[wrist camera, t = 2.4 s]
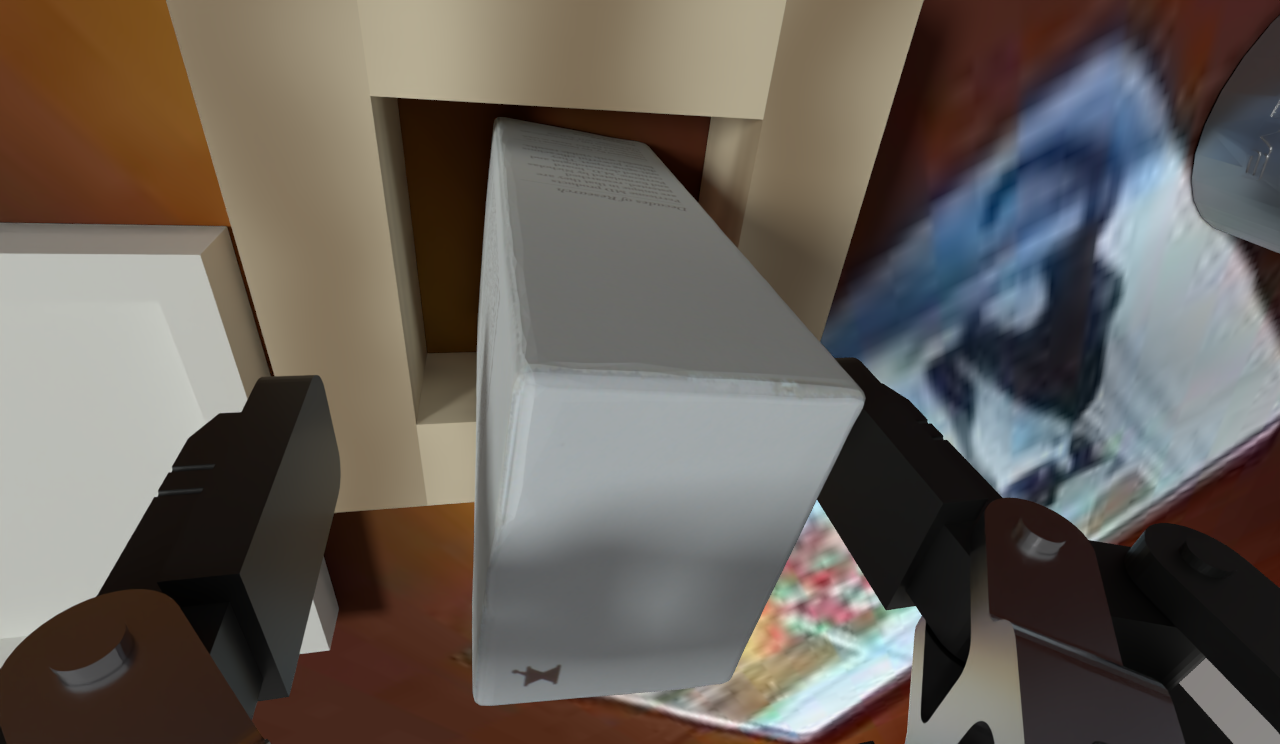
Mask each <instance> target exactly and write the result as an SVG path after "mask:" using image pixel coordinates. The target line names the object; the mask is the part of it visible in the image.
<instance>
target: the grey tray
mask: <svg viewBox="0 0 1280 744" xmlns="http://www.w3.org/2000/svg"><path fill="white" fill-rule="evenodd" d="M270 376H271V375H270V371H269V368H268V365H267V361H266V358H265V354H264V351H263V348H262V344H261V341H260V337H259V334H258V330H257V327H256V324H255V320H254V317H253V313H252V310H251V307H250V303H249V300H248V296H247V293H246V289H245V286H244V283H243V279H242V276H241V272H240V269H239V266H238V262H237V259H236V255H235V252H234V249H233V245H232V242H231V238H230V235H229V231H228V228H227V226H174V225H111V224H48V223H0V668H1V667H2V666H3V664H4V662H5V661H6V659H7V658H8V657H9V656H10V654H11V653H12V652H13V651H14V649H15V648H16V647H17V646H18V645H19V644H20V643H21V642H22V641H23V640H24V639H25V638H26V637H27V636H28V635H30V634H31V633H32V632H33V631H35V630H36V629H37V628H38V627H40V626H41V625H42V624H44V623H45V622H47V621H48V620H50V619H51V618H53V617H54V616H56V615H57V614H59V613H61V612H63V611H65V610H67V609H68V608H70V607H72V606H74V605H77V604H79V603H81V602H83V601H86V600H88V599H91V598H94V597H96V596H97V595H98V593H99V591H100V590H101V588H102V586H103V585H104V583H105V581H106V579H107V578H108V576H109V574H110V572H111V571H112V569H113V567H114V566H115V564H116V562H117V560H118V559H119V557H120V555H121V553H122V552H123V550H124V548H125V547H126V545H127V543H128V541H129V540H130V538H131V536H132V534H133V533H134V531H135V529H136V528H137V526H138V524H139V522H140V521H141V519H142V517H143V515H144V514H145V512H146V510H147V509H148V507H149V505H150V503H151V502H152V500H153V498H154V497H158V490H159V488H160V486H161V484H162V483H163V481H164V479H165V477H166V476H167V474H168V472H172V465H173V464H174V462H175V460H176V458H177V457H178V455H179V453H180V452H181V450H182V448H183V446H184V445H185V443H186V441H187V439H188V438H189V437H190V436H192V435H193V434H194V433H195V432H197V431H198V430H199V429H200V428H201V427H203V426H204V425H205V424H206V423H208V422H209V421H210V420H211V419H213V418H214V417H215V416H216V415H218V414H219V413H234V412H242V410H243V408H244V406H245V404H246V402H247V400H248V398H249V396H250V394H251V392H252V390H253V388H254V386H255V384H256V382H257V380H258V379H259V378H260V377H270ZM338 611H339V607H338V603H337V600H336V597H335V593H334V590H333V586H332V583H331V580H330V576H329V573H328V569H327V566H326V562H325V559H324V556H323V560H322V564H321V568H320V572H319V576H318V580H317V584H316V589H315V593H314V597H313V601H312V605H311V609H310V613H309V617H308V621H307V625H306V629H305V633H304V637H303V641H302V645H301V650H300V654H303V653H311V652H319V651H328V650H330V646H331V642H332V637H333V633H334V629H335V624H336V620H337V615H338Z"/></svg>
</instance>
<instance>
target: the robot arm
mask: <svg viewBox="0 0 1280 744" xmlns="http://www.w3.org/2000/svg"><path fill="white" fill-rule="evenodd" d="M1192 186H1193V196H1194V202H1195V204H1196V206H1197V208H1198V210H1199V212H1200V214H1201V217H1202V218H1203V219H1205V220H1206V221H1207V222H1208V223H1209V224H1210V225H1211V226H1213V227H1214V228H1216V229H1218V230H1221V231H1223V232H1226V233H1229V234H1231V235H1234V236H1236V237H1239V238H1241V239H1244V240H1247V241H1249V242H1252V243H1254V244H1257V245H1259V246H1262V247H1265V248H1267V249H1270V250H1272V251H1275V252H1277V253H1280V15H1279V16H1278V17H1277V18H1276V19H1275V20H1274V21H1273V22H1272V23H1271V25H1270V26H1269V27H1268V28H1267V30H1266V31H1265V32H1264V33H1263V34H1262V36H1261V37H1260V38H1259V39H1258V41H1257V42H1256V43H1255V44H1254V45H1253V47H1252V48H1251V49H1250V50H1249V52H1248V53H1247V54H1246V55H1245V56H1244V58H1243V59H1242V61H1241V62H1240V64H1239V65H1238V67H1237V68H1236V70H1235V72H1234V73H1233V75H1232V76H1231V78H1230V79H1229V81H1228V82H1227V84H1226V85H1225V87H1224V88H1223V90H1222V91H1221V93H1220V95H1219V97H1218V99H1217V101H1216V103H1215V105H1214V107H1213V109H1212V112H1211V114H1210V116H1209V118H1208V120H1207V122H1206V124H1205V126H1204V129H1203V132H1202V135H1201V138H1200V141H1199V144H1198V147H1197V150H1196V153H1195V160H1194V167H1193V175H1192ZM834 359H835V360H836V361H837V362H838V363H839V365H840V366H841V367H842V368H843V369H844V370H845V371H846V372H847V373H848V374H849V376H850V377H851V378H852V379H853V380H854V381H855V382H856V384H857V385H858V386H859V387H860V388H861V389H862V391H863V392H864V395H865V398H866V399H865V402H864V406H863V409H862V410H861V412H860V414H859V416H858V418H857V419H856V421H855V423H854V425H853V427H852V429H851V431H850V433H849V435H848V437H847V439H846V441H845V443H844V445H843V447H842V449H841V451H840V453H839V455H838V457H837V459H836V462H835V464H834V466H833V468H832V470H831V472H830V474H829V476H828V478H827V480H826V482H825V484H824V486H823V488H822V490H821V492H820V494H819V496H818V498H817V500H818V502H819V503H820V505H821V507H822V508H823V510H824V511H825V513H826V515H827V516H828V518H829V519H830V521H831V523H832V524H833V526H834V527H835V529H836V531H837V532H838V534H839V536H840V537H841V539H842V540H843V542H844V544H845V545H846V547H847V548H848V550H849V552H850V553H851V555H852V557H853V558H854V560H855V561H856V563H857V565H858V566H859V568H860V569H861V571H862V573H863V574H864V576H865V577H866V579H867V581H868V582H869V584H870V586H871V587H872V589H873V590H874V592H875V594H876V595H877V597H878V598H879V600H880V602H881V603H882V605H883V606H884V608H885V610H891V609H898V608H905V607H911V606H916V607H917V609H918V610H919V612H920V613H921V615H922V617H921V618H920V620H919V622H918V624H917V626H916V629H915V636H914V649H913V663H912V676H911V689H910V703H909V716H908V729H907V737H906V742H905V744H1233V743H1232V742H1231V741H1230V739H1228V737H1227V736H1226V735H1225V734H1224V733H1223V732H1222V731H1221V729H1220V728H1219V727H1218V726H1217V725H1216V724H1215V723H1214V722H1213V721H1212V719H1211V718H1210V717H1209V716H1208V715H1207V714H1206V713H1205V712H1204V711H1203V709H1202V708H1201V707H1200V706H1199V705H1198V704H1197V703H1196V702H1195V701H1194V699H1193V698H1192V697H1191V696H1190V695H1189V694H1188V693H1187V692H1186V691H1185V690H1184V688H1183V687H1182V686H1181V685H1180V684H1179V682H1180V681H1181V680H1182V679H1183V678H1185V677H1186V676H1187V675H1188V674H1189V673H1190V672H1191V671H1192V670H1193V669H1194V668H1196V666H1198V665H1199V664H1200V663H1201V662H1202V661H1203V660H1204V659H1205V658H1207V659H1208V660H1209V661H1210V662H1211V663H1212V664H1213V665H1214V666H1215V667H1216V668H1217V669H1218V670H1219V671H1220V672H1221V673H1222V674H1223V675H1224V676H1225V677H1226V679H1227V680H1228V681H1230V683H1231V684H1232V685H1233V686H1234V687H1235V688H1236V689H1237V690H1238V691H1239V692H1240V693H1241V694H1242V695H1243V696H1244V697H1245V698H1246V699H1247V700H1248V701H1249V702H1250V703H1251V704H1252V705H1253V706H1254V707H1255V708H1256V709H1257V710H1258V711H1259V712H1260V713H1261V715H1263V717H1264V718H1265V719H1266V720H1267V721H1268V722H1269V723H1270V724H1271V725H1272V726H1273V727H1274V728H1275V729H1276V730H1277V731H1278V732H1279V734H1280V588H1279V587H1278V586H1276V585H1275V584H1274V583H1273V582H1272V581H1270V580H1269V579H1268V578H1267V577H1266V576H1264V575H1263V574H1262V573H1261V572H1260V571H1259V570H1257V569H1256V568H1255V567H1254V566H1253V565H1251V564H1250V563H1249V562H1248V561H1247V560H1245V559H1244V558H1243V557H1242V556H1240V555H1239V554H1238V553H1236V552H1235V551H1234V550H1232V549H1231V548H1229V547H1228V546H1226V545H1224V544H1223V543H1221V542H1219V541H1217V540H1216V539H1214V538H1212V537H1210V536H1208V535H1206V534H1203V533H1201V532H1199V531H1196V530H1193V529H1190V528H1188V527H1184V526H1180V525H1176V524H1169V523H1159V524H1154V525H1151V526H1149V527H1148V528H1147V529H1146V530H1145V532H1144V533H1143V534H1142V535H1141V536H1140V538H1139V539H1138V540H1137V541H1136V542H1135V544H1134V545H1133V546H1132V547H1126V546H1120V545H1114V544H1108V543H1102V542H1096V541H1090V540H1088V539H1087V538H1086V537H1085V535H1084V534H1083V533H1082V532H1081V531H1080V530H1079V529H1078V528H1077V527H1076V526H1074V525H1073V524H1072V523H1071V522H1070V521H1068V520H1067V519H1065V518H1064V517H1062V516H1061V515H1059V514H1058V513H1056V512H1054V511H1052V510H1050V509H1048V508H1046V507H1044V506H1042V505H1039V504H1037V503H1034V502H1031V501H1027V500H1023V499H1018V498H1002V497H1001V496H1000V495H999V494H998V493H997V492H996V491H995V489H994V488H993V487H992V486H991V485H990V484H989V483H988V482H987V481H986V480H985V479H984V478H983V477H982V476H981V475H980V474H979V473H978V472H977V471H976V470H975V469H974V468H973V467H972V465H971V464H970V463H969V462H968V461H967V460H966V459H965V458H964V457H963V456H962V455H961V454H960V453H959V452H958V451H957V450H956V449H955V448H954V447H953V446H952V445H951V444H950V443H949V441H948V440H943V435H942V434H941V433H940V432H939V431H938V430H937V429H936V428H935V427H934V426H933V425H932V424H928V423H927V419H926V417H925V416H924V415H923V414H922V413H921V412H920V411H919V410H918V409H917V408H916V407H915V406H914V405H913V404H912V403H911V402H910V401H909V400H908V399H906V398H905V397H903V396H902V395H900V394H898V393H897V392H895V391H894V390H892V389H890V388H889V387H887V386H886V385H884V384H883V383H882V384H881V383H880V382H879V381H878V380H877V378H876V377H875V376H874V375H873V374H872V373H871V372H870V371H869V370H868V369H867V368H866V367H865V366H864V364H863V363H862V362H861V361H859V360H858V359H856V358H853V357H852V358H834ZM340 479H341V467H340V456H339V450H338V446H337V441H336V437H335V432H334V428H333V423H332V419H331V414H330V410H329V405H328V401H327V396H326V392H325V388H324V384H323V381H322V379H321V378H320V376H318V375H299V376H270V377H260V378H259V379H258V380H257V382H256V384H255V386H254V388H253V390H252V392H251V394H250V396H249V398H248V400H247V402H246V404H245V406H244V408H243V410H242V412H234V413H219V414H218V415H216V416H215V417H214V418H213V419H211V420H210V421H209V422H208V423H206V424H205V425H204V426H203V427H201V428H200V429H199V430H198V431H197V432H195V433H194V434H193V435H192V436H190V437H189V438H188V439H187V441H186V443H185V445H184V446H183V448H182V450H181V452H180V453H179V455H178V457H177V458H176V460H175V462H174V464H173V465H172V472H168V474H167V476H166V477H165V479H164V481H163V483H162V484H161V486H160V488H159V490H158V497H154V498H153V500H152V502H151V503H150V505H149V507H148V509H147V510H146V512H145V514H144V515H143V517H142V519H141V521H140V522H139V524H138V526H137V528H136V529H135V531H134V533H133V534H132V536H131V538H130V540H129V541H128V543H127V545H126V547H125V548H124V550H123V552H122V553H121V555H120V557H119V559H118V560H117V562H116V564H115V566H114V567H113V569H112V571H111V572H110V574H109V576H108V578H107V579H106V581H105V583H104V585H103V586H102V588H101V590H100V591H99V593H98V595H97V596H96V597H94V598H91V599H88V600H86V601H83V602H81V603H79V604H77V605H74V606H72V607H70V608H68V609H67V610H65V611H63V612H61V613H59V614H57V615H56V616H54V617H53V618H51V619H50V620H48V621H47V622H45V623H44V624H42V625H41V626H40V627H38V628H37V629H36V630H35V631H33V632H32V633H31V634H30V635H28V636H27V637H26V638H25V639H24V640H23V641H22V642H21V643H20V644H19V645H18V646H17V647H16V648H15V649H14V651H13V652H12V653H11V654H10V656H9V657H8V658H7V659H6V661H5V662H4V664H3V666H2V667H1V668H0V744H271V743H270V742H269V741H268V740H267V739H264V738H263V737H262V736H261V734H260V733H259V731H258V730H257V728H256V727H255V725H254V723H253V722H252V717H253V714H254V710H255V707H256V703H257V701H263V700H270V699H277V698H283V697H289V694H290V690H291V686H292V682H293V678H294V674H295V670H296V666H297V662H298V658H299V654H300V650H301V645H302V641H303V637H304V633H305V629H306V625H307V621H308V617H309V613H310V609H311V605H312V601H313V597H314V593H315V589H316V584H317V580H318V576H319V572H320V568H321V564H322V560H323V556H324V552H325V548H326V544H327V540H328V536H329V532H330V527H331V523H332V519H333V515H334V511H335V507H336V503H337V499H338V495H339V489H340ZM860 744H874V742H873V741H869V742H864V743H860Z"/></svg>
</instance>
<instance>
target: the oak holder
mask: <svg viewBox="0 0 1280 744" xmlns="http://www.w3.org/2000/svg"><path fill="white" fill-rule="evenodd" d="M166 2H167V6H168V9H169V12H170V16H171V19H172V23H173V26H174V30H175V33H176V37H177V40H178V44H179V47H180V51H181V54H182V57H183V61H184V64H185V68H186V71H187V75H188V78H189V82H190V85H191V89H192V92H193V96H194V99H195V102H196V106H197V109H198V113H199V116H200V120H201V123H202V127H203V130H204V134H205V137H206V141H207V144H208V147H209V151H210V154H211V158H212V161H213V165H214V168H215V172H216V175H217V179H218V182H219V186H220V189H221V192H222V196H223V199H224V203H225V206H226V210H227V213H228V217H229V220H230V224H231V227H232V230H233V234H234V237H235V241H236V244H237V248H238V251H239V255H240V258H241V262H242V265H243V269H244V272H245V275H246V279H247V282H248V286H249V289H250V293H251V296H252V300H253V303H254V307H255V310H256V314H257V317H258V320H259V324H260V327H261V331H262V334H263V338H264V341H265V345H266V348H267V352H268V355H269V359H270V362H271V365H272V369H273V372H274V376H299V375H318V376H320V378H321V379H322V381H323V384H324V388H325V392H326V396H327V401H328V405H329V410H330V414H331V419H332V423H333V428H334V432H335V437H336V441H337V446H338V450H339V456H340V467H341V479H340V489H339V495H338V499H337V503H336V507H335V511H334V513H338V512H351V511H364V510H376V509H389V508H402V507H415V506H428V505H440V504H453V503H466V502H475V466H476V402H477V396H476V383H477V352H459V353H427V347H426V339H425V330H424V322H423V313H422V305H421V296H420V288H419V279H418V271H417V262H416V254H415V245H414V237H413V228H412V219H411V211H410V202H409V194H408V185H407V177H406V168H405V160H404V151H403V143H402V134H401V126H400V117H399V109H398V100H397V98H412V99H429V100H445V101H462V102H479V103H495V104H512V105H529V106H545V107H562V108H578V109H595V110H612V111H628V112H645V113H662V114H678V115H695V116H711V121H710V128H709V135H708V141H707V148H706V155H705V161H704V168H703V174H702V181H701V188H700V194H699V201H698V203H699V204H700V206H701V207H702V208H703V209H704V210H705V211H706V213H707V214H708V215H709V216H710V217H711V218H712V219H713V220H714V221H715V223H716V224H717V225H718V226H719V228H720V229H721V230H722V231H723V232H724V234H725V235H726V236H727V237H728V238H729V239H730V240H731V241H732V242H733V243H734V245H735V246H736V247H737V248H738V249H739V250H740V252H741V253H742V254H743V255H744V256H745V257H746V258H747V259H748V260H749V261H750V263H751V264H752V265H753V266H754V267H755V269H756V270H757V271H758V272H759V273H760V274H761V276H762V277H763V278H764V279H765V280H766V281H767V282H768V283H769V284H770V285H771V287H772V288H773V289H774V290H775V291H776V293H777V294H778V295H779V296H780V297H781V298H782V300H783V301H784V302H785V303H786V304H787V305H788V306H789V308H790V309H791V310H792V311H793V312H794V313H795V314H796V316H797V317H798V318H799V319H800V320H801V321H802V322H803V324H804V325H805V326H806V327H807V328H808V329H809V330H810V331H811V333H812V334H813V335H814V336H815V337H816V338H817V339H818V340H819V342H820V341H821V337H822V334H823V331H824V328H825V324H826V321H827V318H828V314H829V311H830V308H831V304H832V301H833V298H834V294H835V291H836V288H837V285H838V281H839V278H840V275H841V271H842V268H843V265H844V261H845V258H846V255H847V251H848V248H849V245H850V242H851V238H852V235H853V232H854V228H855V225H856V222H857V218H858V215H859V212H860V208H861V205H862V202H863V199H864V195H865V192H866V189H867V185H868V182H869V179H870V175H871V172H872V169H873V165H874V162H875V159H876V156H877V152H878V149H879V146H880V142H881V139H882V136H883V132H884V129H885V126H886V122H887V119H888V116H889V113H890V109H891V106H892V103H893V99H894V96H895V93H896V89H897V86H898V83H899V79H900V76H901V73H902V70H903V66H904V63H905V60H906V56H907V53H908V50H909V46H910V43H911V40H912V37H913V33H914V30H915V27H916V23H917V20H918V17H919V13H920V10H921V7H922V3H923V0H166Z"/></svg>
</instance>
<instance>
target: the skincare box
mask: <svg viewBox="0 0 1280 744" xmlns="http://www.w3.org/2000/svg"><path fill="white" fill-rule="evenodd" d="M476 396H477V402H476V466H475V522H474V567H473V596H472V649H473V650H472V669H473V696H474V700H475V702H476V703H478V704H479V705H487V706H493V705H504V704H516V703H527V702H538V701H549V700H560V699H571V698H583V697H595V696H608V695H622V694H632V693H643V692H658V691H667V690H676V689H685V688H694V687H701V686H707V685H715V684H722V683H725V682H727V681H729V680H730V679H731V677H732V675H733V673H734V671H735V669H736V667H737V664H738V662H739V660H740V658H741V655H742V653H743V651H744V649H745V647H746V645H747V643H748V641H749V638H750V636H751V634H752V632H753V630H754V628H755V626H756V624H757V622H758V620H759V618H760V616H761V614H762V612H763V609H764V607H765V605H766V603H767V601H768V599H769V597H770V595H771V593H772V591H773V589H774V587H775V585H776V583H777V581H778V579H779V577H780V575H781V573H782V571H783V569H784V567H785V564H786V562H787V560H788V558H789V556H790V554H791V552H792V550H793V548H794V546H795V544H796V542H797V540H798V538H799V536H800V533H801V531H802V529H803V527H804V525H805V523H806V521H807V519H808V517H809V515H810V513H811V511H812V508H813V506H814V504H815V502H816V500H817V498H818V496H819V494H820V492H821V490H822V488H823V486H824V484H825V482H826V480H827V478H828V476H829V474H830V472H831V470H832V468H833V466H834V464H835V462H836V459H837V457H838V455H839V453H840V451H841V449H842V447H843V445H844V443H845V441H846V439H847V437H848V435H849V433H850V431H851V429H852V427H853V425H854V423H855V421H856V419H857V418H858V416H859V414H860V412H861V410H862V409H863V406H864V402H865V399H866V398H865V395H864V392H863V391H862V389H861V388H860V387H859V386H858V385H857V384H856V382H855V381H854V380H853V379H852V378H851V377H850V376H849V374H848V373H847V372H846V371H845V370H844V369H843V368H842V367H841V366H840V365H839V363H838V362H837V361H836V360H835V359H834V357H833V356H832V355H831V354H830V353H829V352H828V350H827V349H826V348H825V347H824V346H823V345H822V344H821V343H820V342H819V340H818V339H817V338H816V337H815V336H814V335H813V334H812V333H811V331H810V330H809V329H808V328H807V327H806V326H805V325H804V324H803V322H802V321H801V320H800V319H799V318H798V317H797V316H796V314H795V313H794V312H793V311H792V310H791V309H790V308H789V306H788V305H787V304H786V303H785V302H784V301H783V300H782V298H781V297H780V296H779V295H778V294H777V293H776V291H775V290H774V289H773V288H772V287H771V285H770V284H769V283H768V282H767V281H766V280H765V279H764V278H763V277H762V276H761V274H760V273H759V272H758V271H757V270H756V269H755V267H754V266H753V265H752V264H751V263H750V261H749V260H748V259H747V258H746V257H745V256H744V255H743V254H742V253H741V252H740V250H739V249H738V248H737V247H736V246H735V245H734V243H733V242H732V241H731V240H730V239H729V238H728V237H727V236H726V235H725V234H724V232H723V231H722V230H721V229H720V228H719V226H718V225H717V224H716V223H715V221H714V220H713V219H712V218H711V217H710V216H709V215H708V214H707V213H706V211H705V210H704V209H703V208H702V207H701V206H700V204H699V203H698V202H697V201H696V200H695V199H694V198H693V197H692V195H691V194H690V193H689V192H688V191H687V190H686V189H685V187H684V186H683V185H682V184H681V183H680V182H679V181H678V180H677V178H676V177H675V176H674V175H673V174H672V172H671V171H670V170H669V169H668V168H667V167H666V166H665V165H664V163H663V162H662V161H661V160H660V159H659V158H658V157H657V155H656V154H655V153H654V152H653V151H652V150H651V149H650V147H649V146H648V145H646V144H644V143H641V142H637V141H631V140H624V139H617V138H611V137H606V136H601V135H596V134H591V133H586V132H581V131H576V130H571V129H565V128H560V127H555V126H549V125H544V124H539V123H533V122H528V121H523V120H518V119H512V118H507V117H497V118H496V119H495V120H494V124H493V134H492V144H491V154H490V164H489V174H488V185H487V197H486V209H485V222H484V234H483V247H482V262H481V277H480V292H479V307H478V321H477V383H476Z"/></svg>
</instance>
